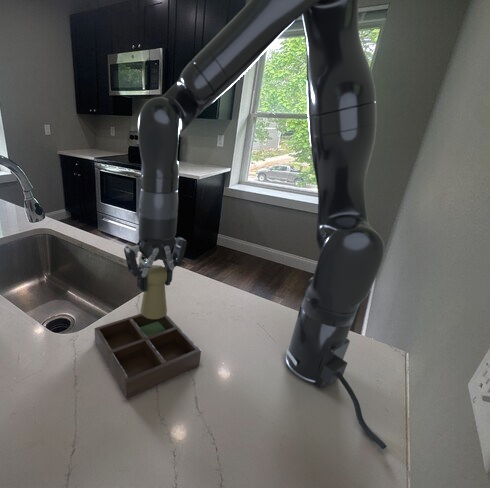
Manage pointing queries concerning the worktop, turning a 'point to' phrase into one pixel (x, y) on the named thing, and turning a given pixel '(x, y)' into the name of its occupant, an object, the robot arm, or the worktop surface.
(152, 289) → the yellow peg doll
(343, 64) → the robot arm
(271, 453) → the worktop surface
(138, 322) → the grid
